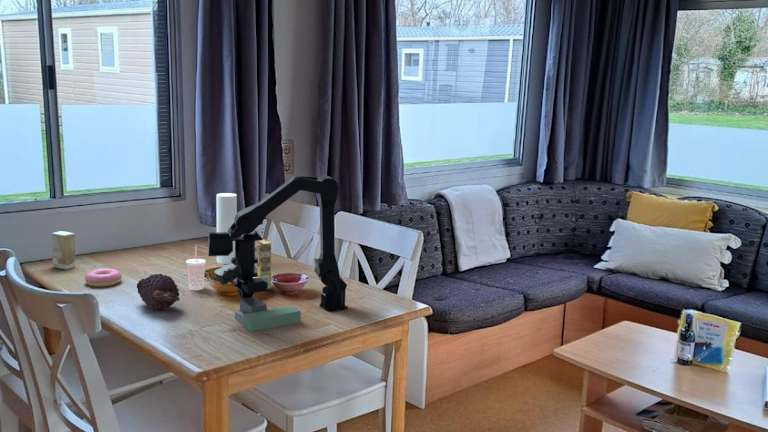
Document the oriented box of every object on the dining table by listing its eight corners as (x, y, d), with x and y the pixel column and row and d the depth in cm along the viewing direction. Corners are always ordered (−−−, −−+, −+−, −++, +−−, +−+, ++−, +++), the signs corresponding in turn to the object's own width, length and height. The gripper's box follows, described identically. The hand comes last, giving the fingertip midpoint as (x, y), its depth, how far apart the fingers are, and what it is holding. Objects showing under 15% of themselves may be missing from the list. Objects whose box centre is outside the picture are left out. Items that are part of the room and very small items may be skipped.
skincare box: (52, 267, 231) (50, 232, 229) (62, 264, 235) (60, 230, 233) (66, 270, 229) (64, 235, 227) (76, 267, 233) (75, 232, 231)
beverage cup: (209, 288, 216) (209, 246, 213) (193, 292, 212) (192, 248, 209) (199, 284, 220) (199, 242, 217) (182, 287, 216) (182, 245, 213)
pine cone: (125, 304, 198) (124, 271, 196) (155, 297, 205) (154, 265, 203) (162, 318, 187) (161, 284, 185) (191, 310, 195) (191, 277, 193)
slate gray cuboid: (254, 313, 195) (254, 296, 194) (266, 321, 188) (266, 304, 187) (239, 315, 192) (239, 298, 191) (251, 324, 186) (251, 307, 185)
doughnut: (77, 284, 215) (76, 271, 214) (105, 276, 224) (105, 264, 224) (101, 290, 210) (100, 277, 209) (129, 282, 219) (128, 269, 219)
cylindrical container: (240, 261, 250) (240, 194, 245) (226, 265, 244) (226, 197, 239) (226, 258, 253) (226, 192, 249) (212, 261, 247) (212, 194, 243)
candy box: (271, 288, 219) (272, 242, 216) (259, 290, 216) (259, 244, 213) (260, 281, 226) (261, 237, 223) (248, 283, 224) (249, 238, 221)
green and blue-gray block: (281, 310, 198) (281, 298, 198) (300, 322, 189) (300, 310, 188) (233, 318, 190) (233, 306, 189) (250, 332, 180) (250, 319, 180)
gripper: (205, 250, 195) (205, 301, 198) (231, 266, 180) (230, 321, 183) (241, 246, 201) (241, 296, 204) (269, 261, 186) (268, 315, 189)
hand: (244, 307), depth 195 cm, fingers closed
